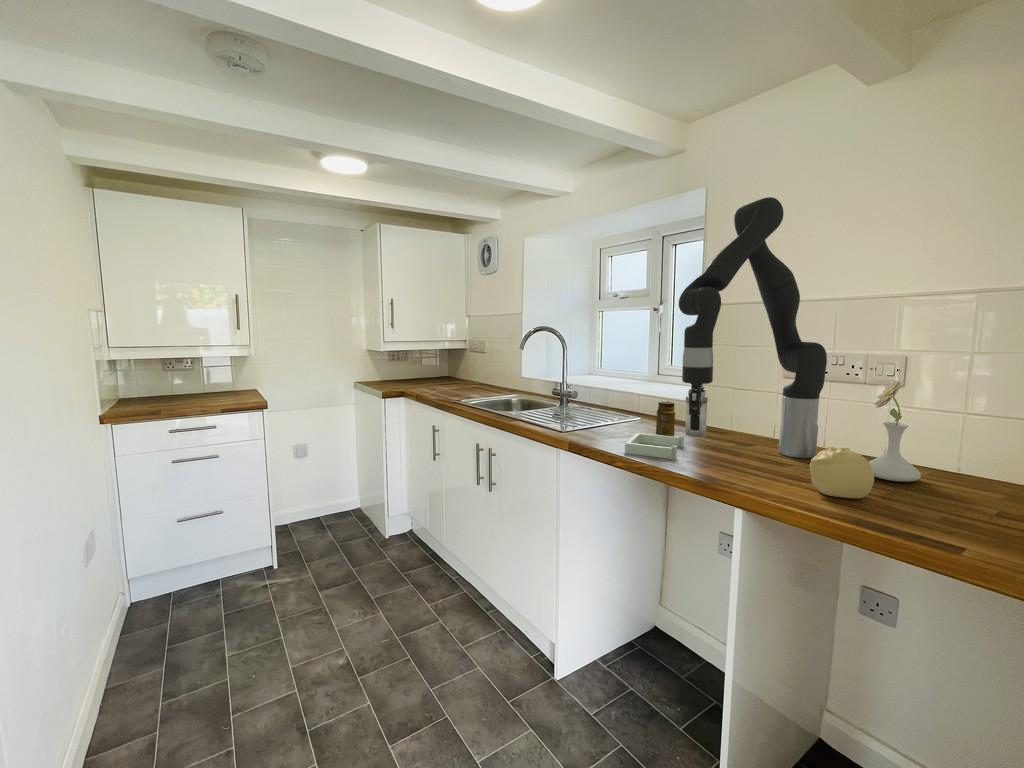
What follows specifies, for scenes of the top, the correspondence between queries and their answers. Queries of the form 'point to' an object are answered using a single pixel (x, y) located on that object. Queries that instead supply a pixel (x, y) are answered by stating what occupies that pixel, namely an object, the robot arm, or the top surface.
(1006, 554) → the top surface
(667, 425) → the condiment
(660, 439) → the tray
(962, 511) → the top surface
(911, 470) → the flower in vase
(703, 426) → the shaker
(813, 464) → the cream rounded lump
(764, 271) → the robot arm
